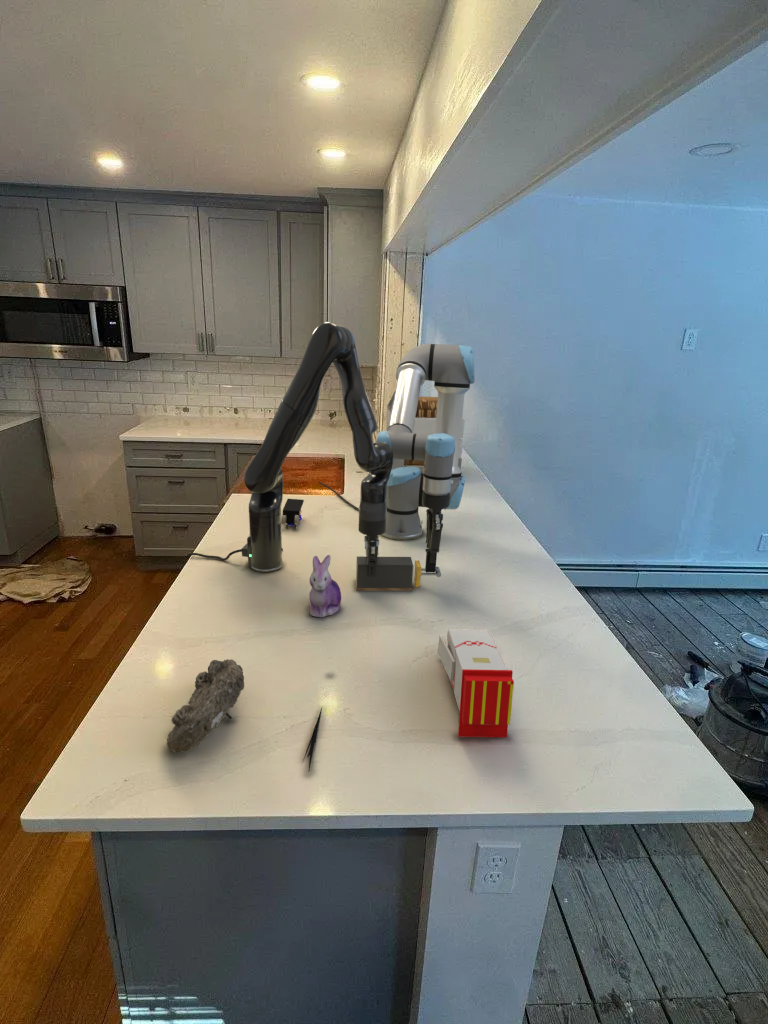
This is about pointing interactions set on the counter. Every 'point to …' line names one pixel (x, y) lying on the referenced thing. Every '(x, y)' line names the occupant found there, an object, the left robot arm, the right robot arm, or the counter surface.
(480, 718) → the toy
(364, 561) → the dark grey box
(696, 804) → the counter surface
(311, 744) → the feather
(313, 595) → the figurine
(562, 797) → the counter surface
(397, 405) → the right robot arm
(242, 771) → the counter surface
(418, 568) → the drawer
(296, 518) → the figurine character
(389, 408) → the transformer
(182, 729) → the fossil
